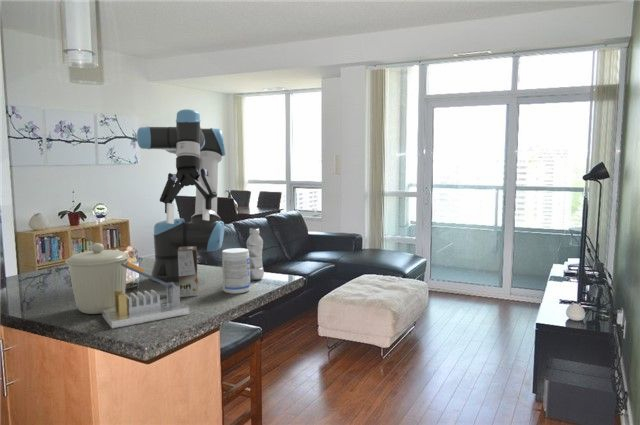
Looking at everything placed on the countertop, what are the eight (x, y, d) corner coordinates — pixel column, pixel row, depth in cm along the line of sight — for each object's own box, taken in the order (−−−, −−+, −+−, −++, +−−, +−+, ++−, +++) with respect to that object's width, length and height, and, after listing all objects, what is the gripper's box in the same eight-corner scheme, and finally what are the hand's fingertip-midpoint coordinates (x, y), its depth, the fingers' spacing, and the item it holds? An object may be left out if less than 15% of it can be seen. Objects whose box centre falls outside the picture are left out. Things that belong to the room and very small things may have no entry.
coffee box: (198, 296, 168) (196, 249, 166) (179, 297, 166) (177, 250, 165) (198, 289, 177) (196, 245, 175) (179, 290, 175) (178, 246, 173)
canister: (141, 309, 153) (138, 242, 151) (80, 322, 141) (76, 250, 139) (118, 298, 166) (115, 236, 164) (60, 309, 154) (56, 243, 152)
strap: (119, 266, 144) (123, 259, 144) (172, 289, 153) (175, 283, 154) (122, 268, 141) (126, 261, 142) (175, 291, 151) (178, 285, 151)
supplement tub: (254, 291, 173) (253, 250, 171) (229, 296, 167) (228, 253, 166) (243, 286, 181) (242, 246, 179) (219, 289, 176) (217, 249, 174)
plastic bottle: (243, 280, 189) (242, 229, 187) (255, 276, 195) (253, 227, 193) (256, 282, 186) (254, 230, 184) (267, 278, 191) (266, 228, 189)
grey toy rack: (102, 315, 147) (100, 289, 146) (174, 303, 160) (173, 279, 159) (112, 328, 136) (110, 300, 135) (189, 313, 148) (188, 288, 147)
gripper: (149, 159, 160) (148, 223, 157) (214, 149, 151) (214, 217, 148) (163, 164, 167) (163, 226, 164) (227, 155, 158) (228, 220, 155)
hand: (187, 222), depth 156 cm, fingers open, 13 cm apart
